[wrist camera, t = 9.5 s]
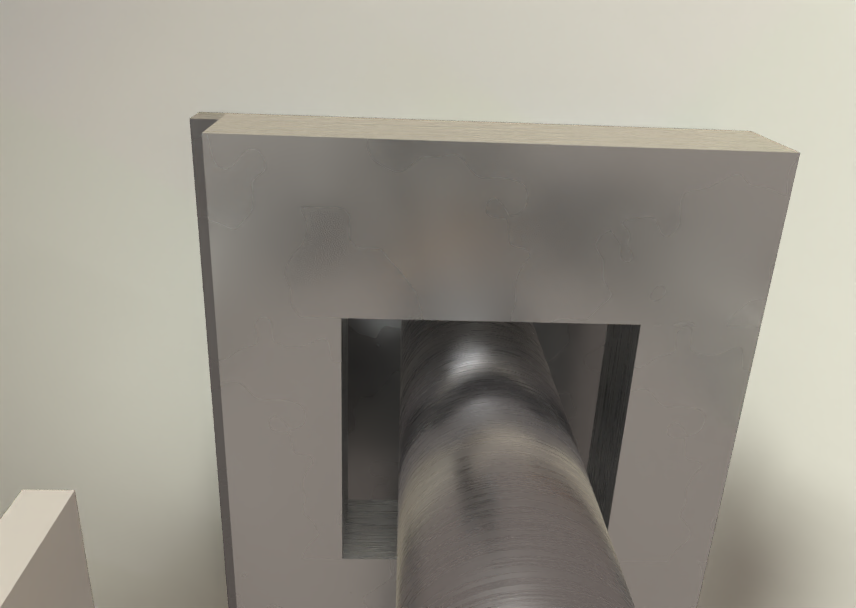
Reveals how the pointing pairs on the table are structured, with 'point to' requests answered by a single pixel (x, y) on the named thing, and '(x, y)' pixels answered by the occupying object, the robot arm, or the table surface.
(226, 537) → the square hole plate
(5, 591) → the robot arm
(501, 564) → the copper tipped metal rod
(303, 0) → the table surface
